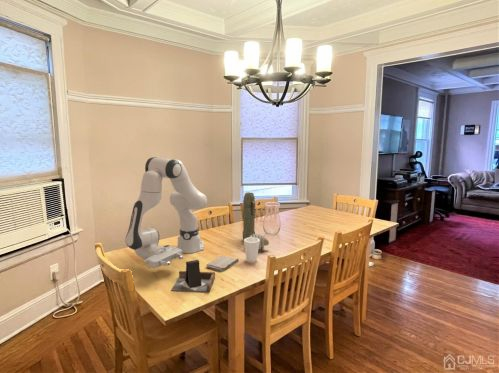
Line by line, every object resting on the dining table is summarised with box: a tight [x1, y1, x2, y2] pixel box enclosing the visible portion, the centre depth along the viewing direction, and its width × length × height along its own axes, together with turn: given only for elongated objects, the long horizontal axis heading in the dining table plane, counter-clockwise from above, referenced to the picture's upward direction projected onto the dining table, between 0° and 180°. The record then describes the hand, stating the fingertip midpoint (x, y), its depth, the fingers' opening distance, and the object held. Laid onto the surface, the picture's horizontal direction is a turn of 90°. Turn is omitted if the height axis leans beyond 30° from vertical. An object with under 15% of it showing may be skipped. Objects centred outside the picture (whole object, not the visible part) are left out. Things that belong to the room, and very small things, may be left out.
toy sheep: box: [242, 233, 270, 252], centre depth 208 cm, size 11×17×11 cm, turn 95°
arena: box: [170, 270, 216, 294], centre depth 161 cm, size 15×19×4 cm
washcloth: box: [206, 255, 240, 273], centre depth 186 cm, size 12×18×3 cm, turn 152°
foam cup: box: [243, 237, 260, 263], centre depth 192 cm, size 10×9×13 cm
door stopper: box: [185, 259, 202, 288], centre depth 160 cm, size 9×6×12 cm, turn 27°
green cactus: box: [242, 192, 256, 242], centre depth 224 cm, size 9×12×35 cm
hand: (175, 260), depth 166 cm, fingers open, 8 cm apart
